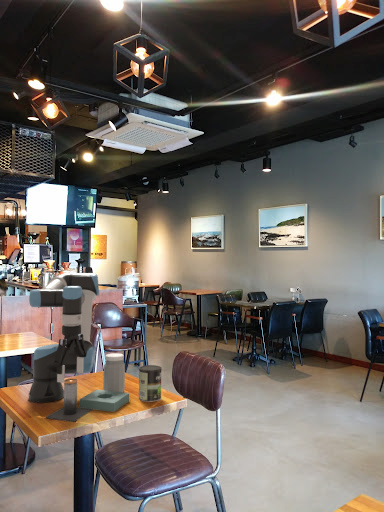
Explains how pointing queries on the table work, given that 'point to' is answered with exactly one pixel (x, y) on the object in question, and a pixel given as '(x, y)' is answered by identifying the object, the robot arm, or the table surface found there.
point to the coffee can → (150, 383)
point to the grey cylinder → (70, 396)
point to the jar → (114, 373)
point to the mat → (71, 418)
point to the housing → (104, 400)
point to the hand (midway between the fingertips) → (70, 377)
